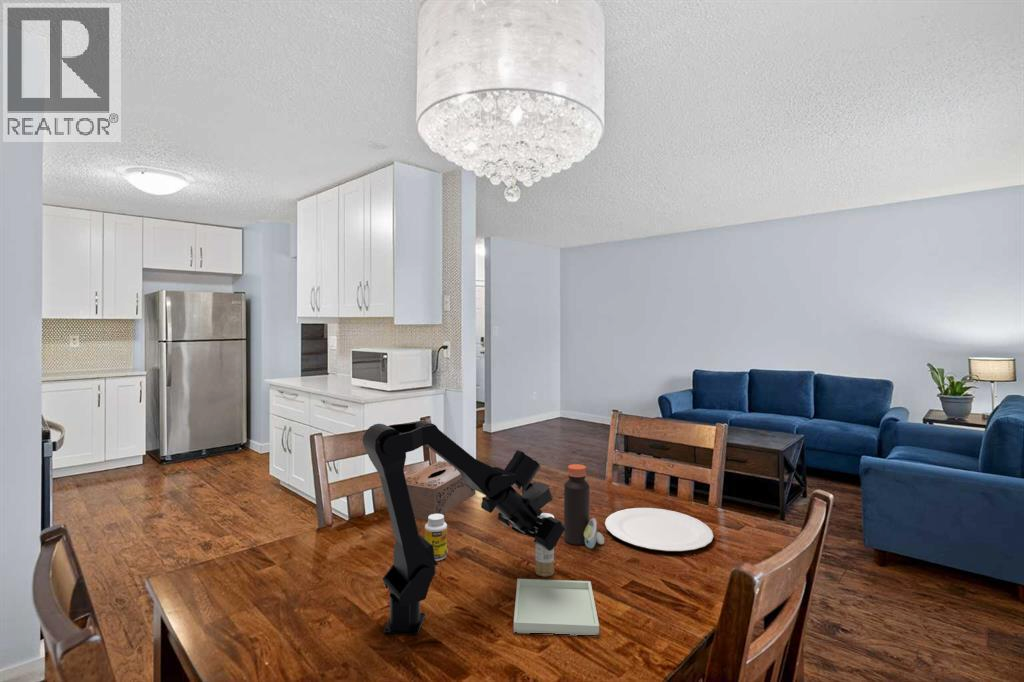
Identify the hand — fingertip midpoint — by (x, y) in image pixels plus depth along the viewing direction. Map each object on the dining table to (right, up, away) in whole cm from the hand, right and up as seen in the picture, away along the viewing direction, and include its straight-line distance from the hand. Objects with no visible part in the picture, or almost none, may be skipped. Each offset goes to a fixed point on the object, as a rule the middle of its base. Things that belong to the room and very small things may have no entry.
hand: (549, 541), depth 116 cm
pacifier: (+11, -2, +13) cm, 17 cm away
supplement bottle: (-28, -7, +7) cm, 29 cm away
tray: (0, -8, -16) cm, 17 cm away
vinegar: (+9, -7, +17) cm, 20 cm away
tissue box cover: (-33, -6, +44) cm, 55 cm away
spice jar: (-1, -7, -1) cm, 7 cm away
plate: (+32, -7, +23) cm, 40 cm away
